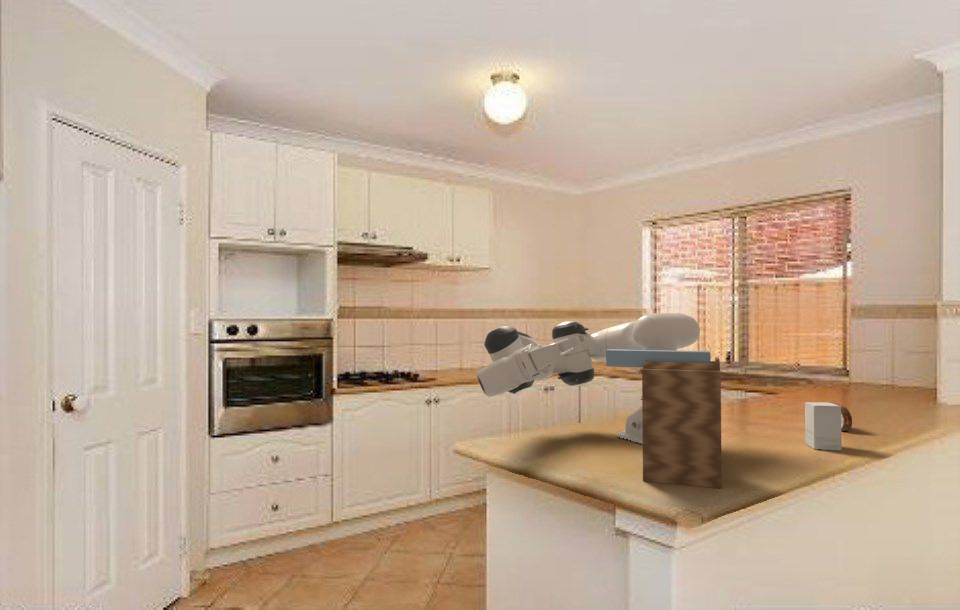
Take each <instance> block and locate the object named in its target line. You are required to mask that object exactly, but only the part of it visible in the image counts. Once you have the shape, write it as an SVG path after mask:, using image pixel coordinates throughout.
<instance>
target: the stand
mask: <svg viewBox="0 0 960 610" xmlns="http://www.w3.org/2000/svg"><path fill="white" fill-rule="evenodd" d="M720 360H721V359H720V358H719V357H718V356H715V357H714V361H713V360H711V363H684V362H646V361H644V362H643V367H642V369H641V383H642V384H641V385H642V386H641V389H642V391H641V395H642V396H641V399H642V400H641V403H642V405H641V407H642V427H643V444H642V482H650V483H659V484H660V483H661V484H671V485H679V486H681V485H683V486H689V487H690V486H693V487H703V488H713V489H722V487H723V486H722V485H723V482H722V481H723V480H722V479H723V478H722V477H723V476H722V474H723V473H722V472H723V470H722V464H723V463H722V462H723V461H722V384H721V383H722V376H721V375H722V373H721V372H722V371H721V361H720Z"/></svg>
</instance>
